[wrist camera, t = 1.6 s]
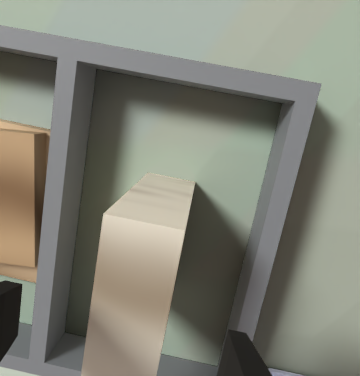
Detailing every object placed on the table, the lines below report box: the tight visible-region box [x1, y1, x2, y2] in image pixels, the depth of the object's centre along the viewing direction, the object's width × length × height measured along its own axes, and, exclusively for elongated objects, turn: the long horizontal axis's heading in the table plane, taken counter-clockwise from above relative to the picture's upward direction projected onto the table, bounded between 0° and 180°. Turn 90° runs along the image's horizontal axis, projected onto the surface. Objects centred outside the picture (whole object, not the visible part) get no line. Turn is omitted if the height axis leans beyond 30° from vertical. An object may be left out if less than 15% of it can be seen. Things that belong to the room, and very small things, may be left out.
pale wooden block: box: [81, 173, 195, 376], centre depth 17 cm, size 7×3×9 cm, turn 169°
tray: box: [0, 25, 321, 376], centre depth 20 cm, size 20×22×3 cm
